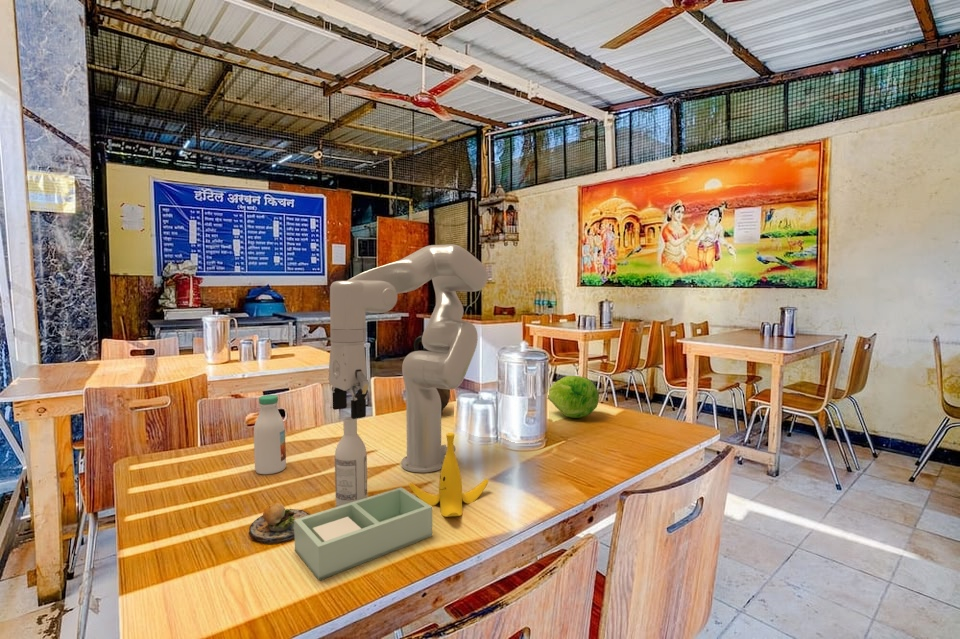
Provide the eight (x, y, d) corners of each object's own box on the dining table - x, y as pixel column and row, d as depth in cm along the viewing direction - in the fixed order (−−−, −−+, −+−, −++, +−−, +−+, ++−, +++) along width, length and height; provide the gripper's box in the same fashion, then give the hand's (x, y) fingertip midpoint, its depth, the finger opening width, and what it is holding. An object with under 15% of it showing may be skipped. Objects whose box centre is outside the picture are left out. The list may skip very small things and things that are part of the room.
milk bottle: (274, 476, 126) (272, 400, 125) (248, 473, 128) (245, 399, 126) (291, 465, 134) (289, 393, 132) (266, 463, 136) (264, 392, 134)
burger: (317, 535, 98) (316, 500, 97) (253, 554, 92) (251, 516, 91) (303, 510, 108) (302, 478, 107) (245, 526, 102) (243, 491, 101)
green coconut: (558, 408, 195) (558, 369, 194) (606, 416, 184) (607, 375, 182) (537, 417, 181) (538, 376, 180) (588, 427, 170) (589, 382, 168)
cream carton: (348, 536, 96) (347, 516, 96) (364, 551, 90) (363, 530, 90) (312, 548, 91) (312, 528, 91) (327, 565, 86) (327, 543, 86)
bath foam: (355, 495, 116) (353, 412, 114) (373, 503, 111) (372, 417, 110) (329, 505, 110) (327, 418, 109) (347, 514, 106) (346, 424, 104)
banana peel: (452, 529, 100) (452, 450, 99) (407, 497, 115) (406, 427, 114) (513, 507, 110) (513, 434, 109) (464, 479, 125) (464, 416, 124)
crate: (401, 513, 106) (401, 487, 106) (432, 536, 97) (432, 506, 97) (294, 550, 92) (294, 519, 91) (319, 580, 83) (318, 546, 82)
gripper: (316, 334, 112) (317, 408, 113) (349, 341, 99) (349, 424, 100) (347, 332, 117) (348, 403, 118) (382, 339, 103) (382, 418, 104)
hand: (348, 413), depth 109 cm, fingers open, 9 cm apart
